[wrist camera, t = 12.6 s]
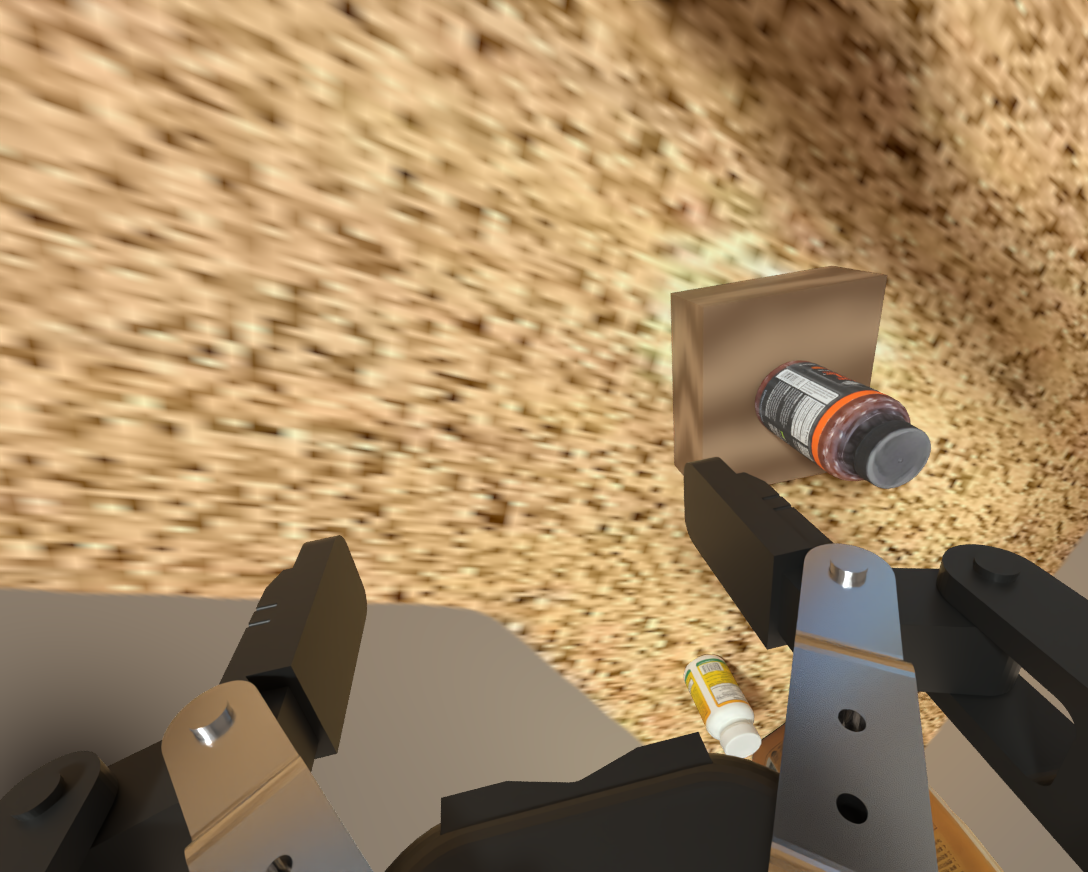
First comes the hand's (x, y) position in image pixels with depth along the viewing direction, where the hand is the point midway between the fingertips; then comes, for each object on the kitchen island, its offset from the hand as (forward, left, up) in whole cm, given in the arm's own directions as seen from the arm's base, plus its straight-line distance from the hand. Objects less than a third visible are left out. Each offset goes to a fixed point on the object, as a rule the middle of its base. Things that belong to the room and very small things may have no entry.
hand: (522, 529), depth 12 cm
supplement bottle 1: (+47, +19, -30) cm, 59 cm away
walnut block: (+10, +23, -30) cm, 39 cm away
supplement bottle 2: (+10, +22, -24) cm, 34 cm away
